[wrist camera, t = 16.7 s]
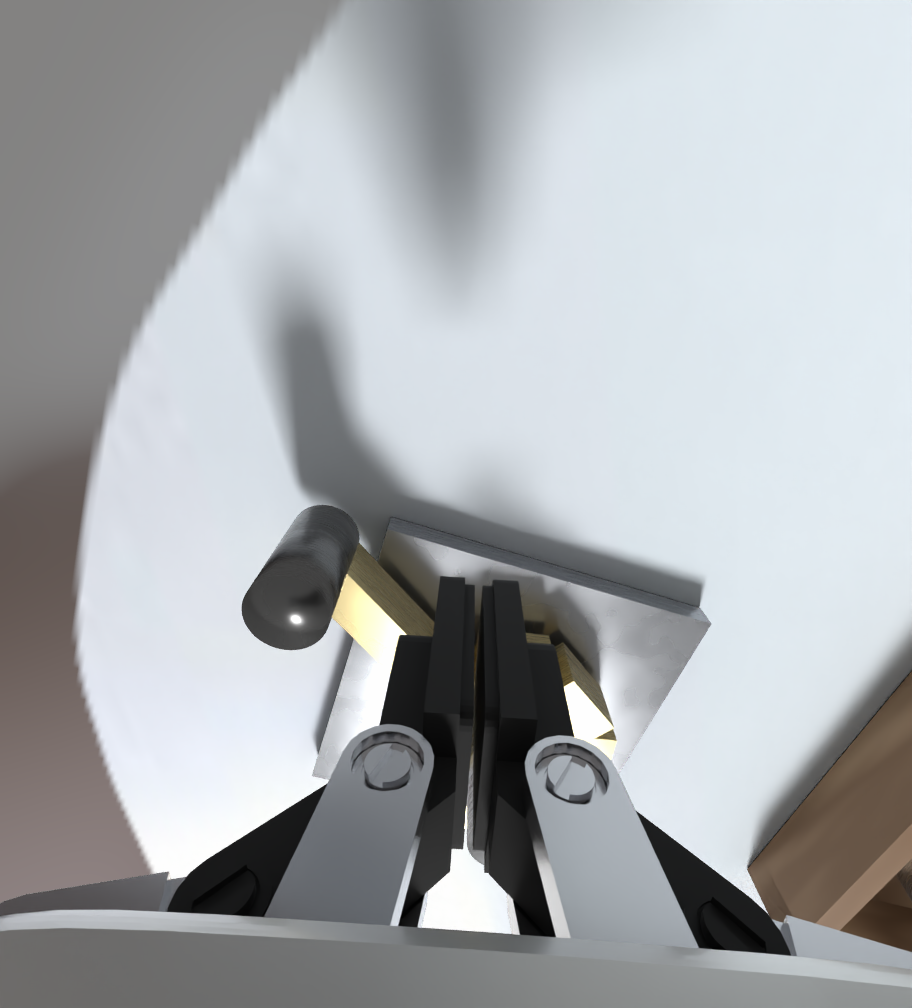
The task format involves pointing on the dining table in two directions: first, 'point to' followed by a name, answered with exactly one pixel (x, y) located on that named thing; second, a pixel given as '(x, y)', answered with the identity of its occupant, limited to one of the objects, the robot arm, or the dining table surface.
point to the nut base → (547, 611)
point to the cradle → (851, 838)
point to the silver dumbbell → (906, 878)
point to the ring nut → (373, 609)
